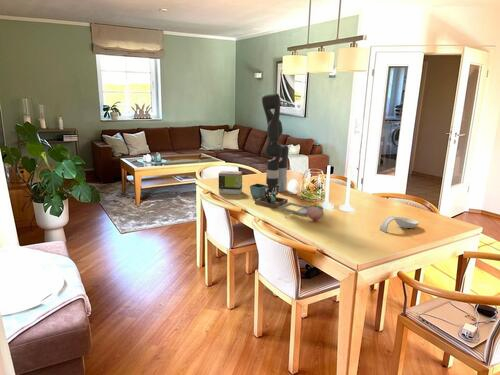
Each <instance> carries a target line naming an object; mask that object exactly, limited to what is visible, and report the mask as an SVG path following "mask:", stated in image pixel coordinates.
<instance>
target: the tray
mask: <svg viewBox="0 0 500 375" xmlns="http://www.w3.org/2000/svg"><path fill="white" fill-rule="evenodd" d="M289 205H292V206H296V207H299V208H300V207H301V208H300V209H298V210H294V209H291V208H285V207H287V206H289ZM308 206H309V205H304V204H300V203H295V202H291V201H289V202H288V203H286V204H284V205H282V206H279V207H278V208H277V210H281V211H285V212H290V213H291V214H293V215H296V216H301V217H306V216H308V215H307V209H308V208H309V207H308Z"/></svg>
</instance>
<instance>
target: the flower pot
mask: <svg viewBox="0 0 500 375" xmlns="http://www.w3.org/2000/svg"><path fill="white" fill-rule="evenodd" d="M267 187H268V185H267V184H263V183H259V182H258V183H254V184H251V185H249V189H250V195H251V197H252V198H253V199H256V200H257V199H259V198H262V197H265V191H264V189H267Z"/></svg>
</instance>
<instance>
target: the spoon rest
mask: <svg viewBox="0 0 500 375" xmlns="http://www.w3.org/2000/svg"><path fill="white" fill-rule="evenodd" d="M392 221H395V223H396V224H397V225H398V227H399V228H401V227H402V229H405V228H411V229H414V228H416V227H417V226H418V225H419V221H417V220H416V219H413V218H410V217H409V218H408V217H403V216H402V217H401V216H392V215H391V216H388V217H386V218H385V219H384V220H383V221H382V223H381V225H379V230H380V231H381V232H384V233H388V227H389V224H390V223H391V222H392Z"/></svg>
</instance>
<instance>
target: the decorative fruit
mask: <svg viewBox="0 0 500 375" xmlns="http://www.w3.org/2000/svg"><path fill="white" fill-rule="evenodd" d="M307 206H308V207H309V208H308V209H307V215H306V216H307V217H308V218H309V219H310V220H312V221H313V222H316V221H318V220H321V219H322V218H323V217H324V207H323V206H322V205H317V203H315V204H309V205H307Z"/></svg>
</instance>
